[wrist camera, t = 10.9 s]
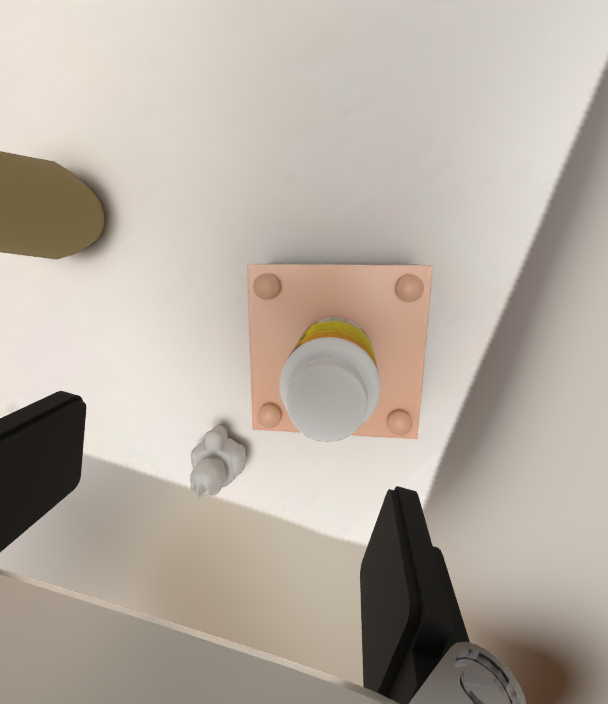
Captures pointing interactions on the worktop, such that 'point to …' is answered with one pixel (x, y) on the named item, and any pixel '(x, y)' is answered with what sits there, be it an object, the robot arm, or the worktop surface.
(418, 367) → the pink and grey block
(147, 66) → the worktop surface
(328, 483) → the worktop surface
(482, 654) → the robot arm
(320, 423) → the supplement bottle
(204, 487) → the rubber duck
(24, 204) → the squeeze bottle
